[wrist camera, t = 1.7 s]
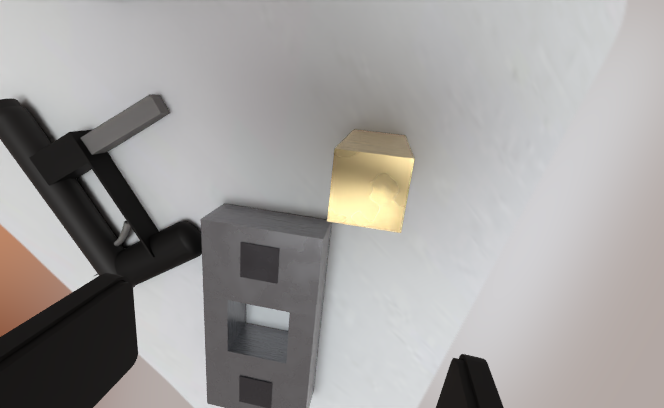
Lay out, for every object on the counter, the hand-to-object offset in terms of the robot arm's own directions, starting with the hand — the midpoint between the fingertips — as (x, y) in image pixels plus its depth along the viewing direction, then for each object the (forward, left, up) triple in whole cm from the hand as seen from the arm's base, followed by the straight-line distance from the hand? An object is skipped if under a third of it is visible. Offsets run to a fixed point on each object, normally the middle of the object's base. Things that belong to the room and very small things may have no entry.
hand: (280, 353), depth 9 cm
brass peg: (-2, +2, -19) cm, 20 cm away
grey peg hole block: (+14, -6, -19) cm, 24 cm away
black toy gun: (+2, -22, -20) cm, 29 cm away
